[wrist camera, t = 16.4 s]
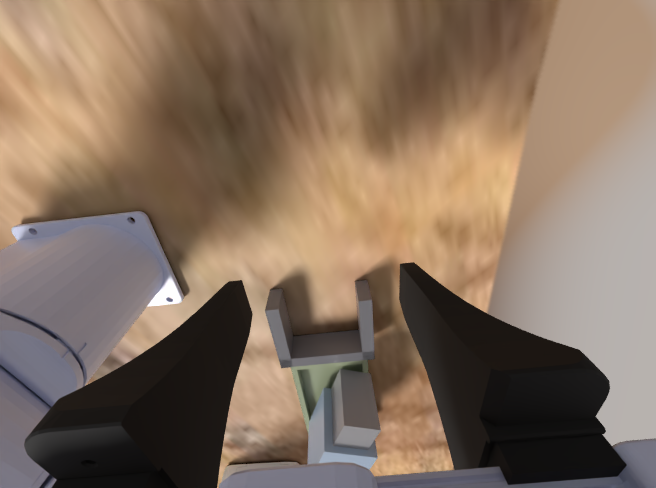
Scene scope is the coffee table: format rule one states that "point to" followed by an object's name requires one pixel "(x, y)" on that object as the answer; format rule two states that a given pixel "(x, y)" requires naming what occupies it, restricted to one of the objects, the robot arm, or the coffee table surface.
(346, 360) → the bay
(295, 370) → the tray
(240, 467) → the photo printer
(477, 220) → the coffee table surface
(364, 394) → the stepped two-tone block
